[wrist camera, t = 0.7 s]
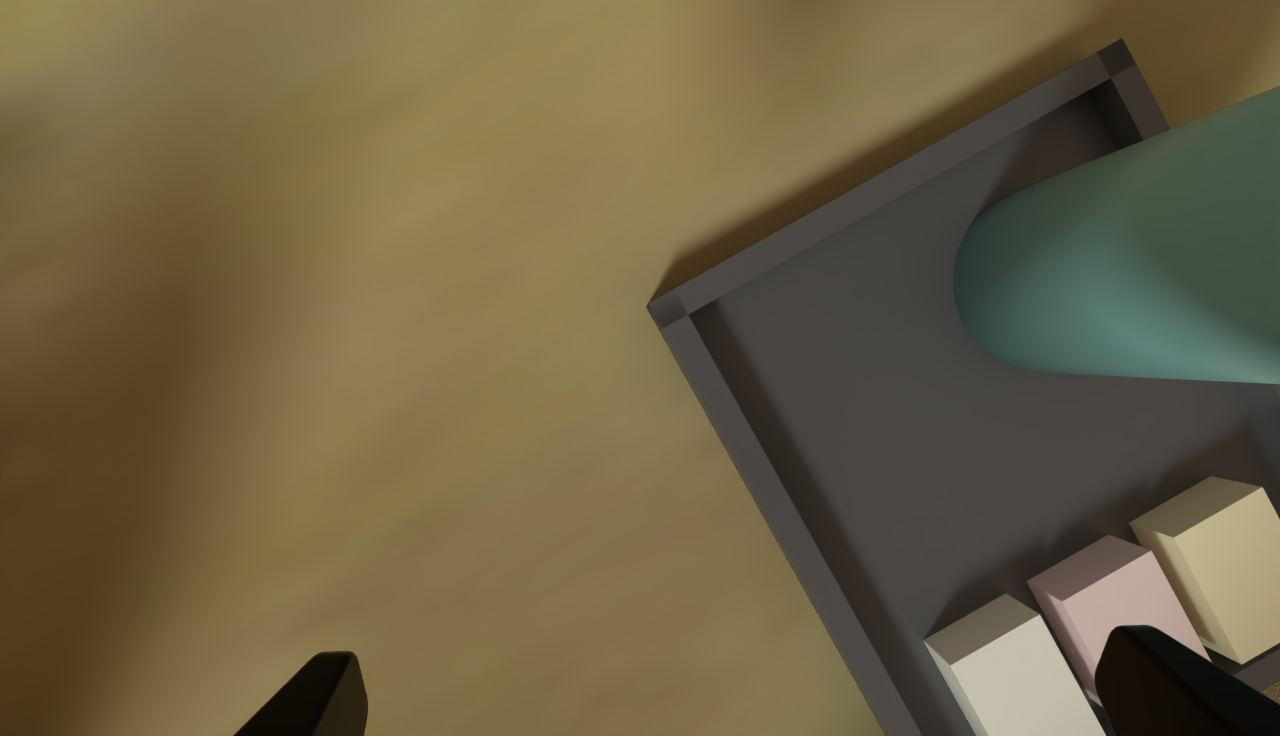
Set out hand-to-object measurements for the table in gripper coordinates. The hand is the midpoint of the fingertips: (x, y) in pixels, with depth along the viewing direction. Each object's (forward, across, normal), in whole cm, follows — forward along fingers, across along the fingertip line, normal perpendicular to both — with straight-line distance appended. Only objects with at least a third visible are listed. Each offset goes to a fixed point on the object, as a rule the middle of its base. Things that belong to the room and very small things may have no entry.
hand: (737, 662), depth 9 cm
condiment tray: (+12, -10, +5) cm, 17 cm away
